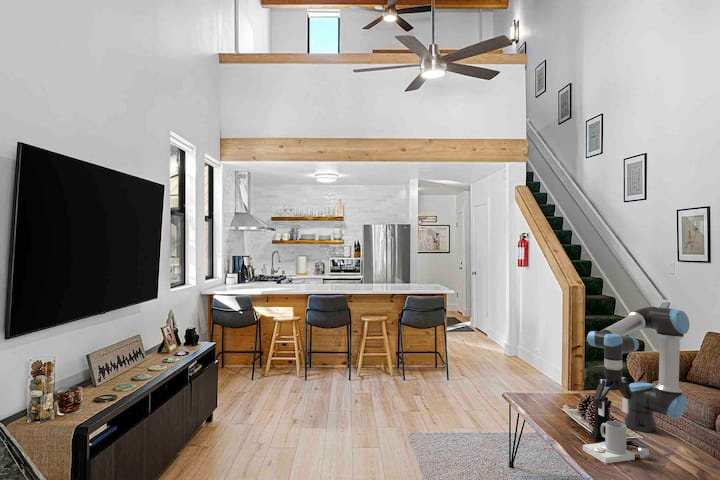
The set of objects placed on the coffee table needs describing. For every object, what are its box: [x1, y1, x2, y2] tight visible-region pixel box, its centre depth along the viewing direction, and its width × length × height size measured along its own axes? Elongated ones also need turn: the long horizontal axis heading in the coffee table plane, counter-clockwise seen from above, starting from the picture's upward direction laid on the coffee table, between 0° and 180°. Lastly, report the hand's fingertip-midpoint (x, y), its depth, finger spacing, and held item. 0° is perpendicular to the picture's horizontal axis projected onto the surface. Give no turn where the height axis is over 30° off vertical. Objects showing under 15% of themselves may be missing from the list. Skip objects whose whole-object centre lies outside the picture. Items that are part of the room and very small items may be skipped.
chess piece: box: [589, 395, 613, 443], centre depth 237 cm, size 8×8×20 cm
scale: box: [582, 442, 636, 464], centre depth 219 cm, size 16×14×4 cm
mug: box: [601, 420, 627, 452], centre depth 220 cm, size 12×8×11 cm
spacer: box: [637, 446, 650, 460], centre depth 217 cm, size 4×4×4 cm
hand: (613, 413), depth 220 cm, fingers open, 13 cm apart
